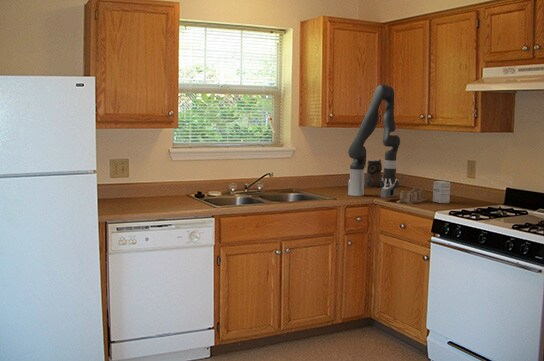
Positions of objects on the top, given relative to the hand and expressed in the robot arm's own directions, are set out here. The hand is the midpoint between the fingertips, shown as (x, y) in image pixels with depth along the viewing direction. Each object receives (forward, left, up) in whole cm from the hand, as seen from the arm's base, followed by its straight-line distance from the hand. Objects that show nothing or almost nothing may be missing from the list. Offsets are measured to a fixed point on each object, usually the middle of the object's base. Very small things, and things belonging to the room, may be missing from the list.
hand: (388, 194), depth 398 cm
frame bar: (0, 0, -1) cm, 1 cm away
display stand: (+14, +4, -3) cm, 14 cm away
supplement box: (+29, +14, -3) cm, 32 cm away
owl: (-41, +57, -3) cm, 70 cm away
